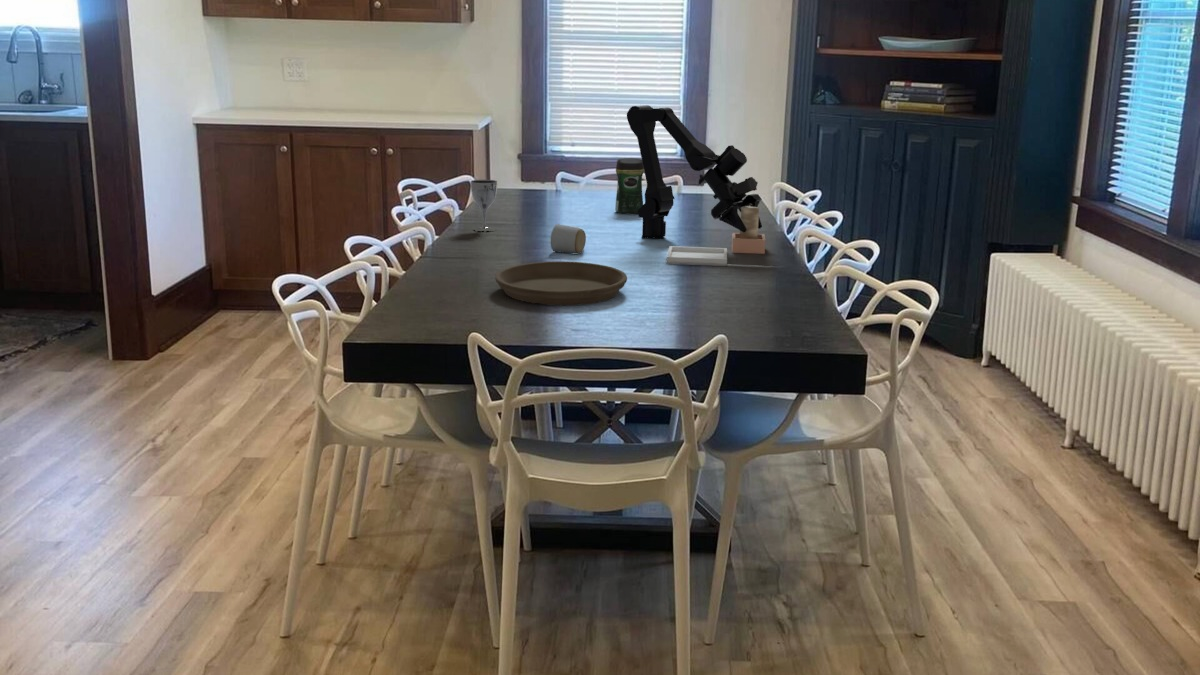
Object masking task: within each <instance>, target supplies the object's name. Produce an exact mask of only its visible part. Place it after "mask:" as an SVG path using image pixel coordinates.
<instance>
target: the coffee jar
mask: <svg viewBox="0 0 1200 675" xmlns="http://www.w3.org/2000/svg"><path fill="white" fill-rule="evenodd" d="M615 174H616V176H617V186H616V197H615V212H616V213H618V214H624V215H637V214H638V210H639V209H640V208H641V207H642V206H643V205H644V197H643V184H642V183H643V179H642V178H643V175H644V174H645V172H644V167H643V163H642V158H635V157H624V158H618V159H617V161H616V167H615Z"/></svg>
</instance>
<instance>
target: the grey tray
mask: <svg viewBox="0 0 1200 675" xmlns="http://www.w3.org/2000/svg"><path fill="white" fill-rule="evenodd" d="M727 264H728V248H727V247H704V246H703V247H702V246H701V247H700V246H679V245H678V246H677V245H675V246H672V245H669V247H668V250H667V254H666V265H689V266H690V265H691V266H711V267H712V266H713V267H714V266H715V267H720V266H721V267H727V266H728V265H727Z"/></svg>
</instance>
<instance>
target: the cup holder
mask: <svg viewBox="0 0 1200 675" xmlns="http://www.w3.org/2000/svg"><path fill="white" fill-rule="evenodd" d="M731 253H733V254H735V253H736V254H737V253H738V254H758V255H759V254H760V255H761V254H762V255H765V253H766V236H765V233H758V239H744V238H740V232H732V233H731Z"/></svg>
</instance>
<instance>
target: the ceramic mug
mask: <svg viewBox="0 0 1200 675" xmlns="http://www.w3.org/2000/svg"><path fill="white" fill-rule="evenodd" d="M586 238H587V236H586V233H585V231H584V229H583V228H580V227H575V226H570V225H565V224H560V223H557V224H555V225H554V226H553V228H552V231H551V234H550V248H551V250H552V251H553V252H554V251H557V252H556V253H563V252H566V253H565V254H573V253H578V254H581V253H582V252H583V251H584V249H585V246H586V242H587V241H586V240H587V239H586Z"/></svg>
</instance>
